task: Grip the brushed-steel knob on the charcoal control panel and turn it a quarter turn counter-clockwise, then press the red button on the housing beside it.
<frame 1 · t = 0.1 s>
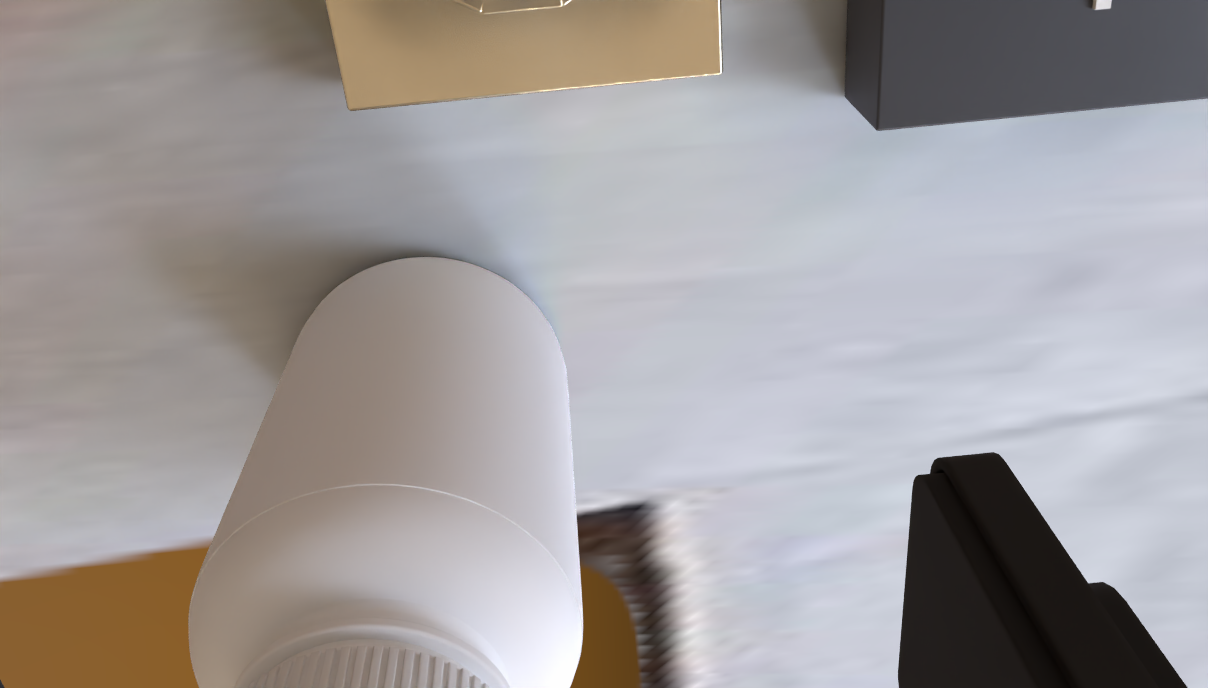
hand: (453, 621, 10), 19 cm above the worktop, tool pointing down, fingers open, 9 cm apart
pill bottle: (436, 366, 30), on the worktop
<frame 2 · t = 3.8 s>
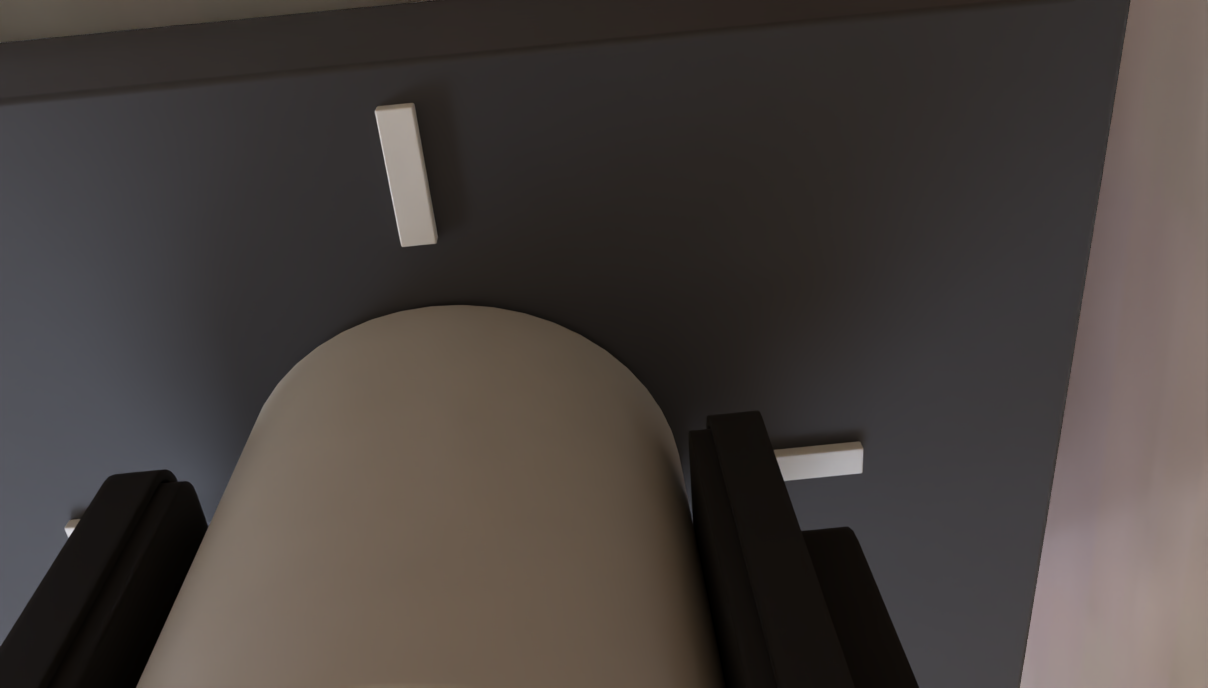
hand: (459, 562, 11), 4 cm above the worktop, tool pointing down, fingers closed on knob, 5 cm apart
panel: (481, 363, 15), on the worktop
knob: (447, 676, 9), point 6 cm above the worktop, hinge at 0.1°, touching gripper
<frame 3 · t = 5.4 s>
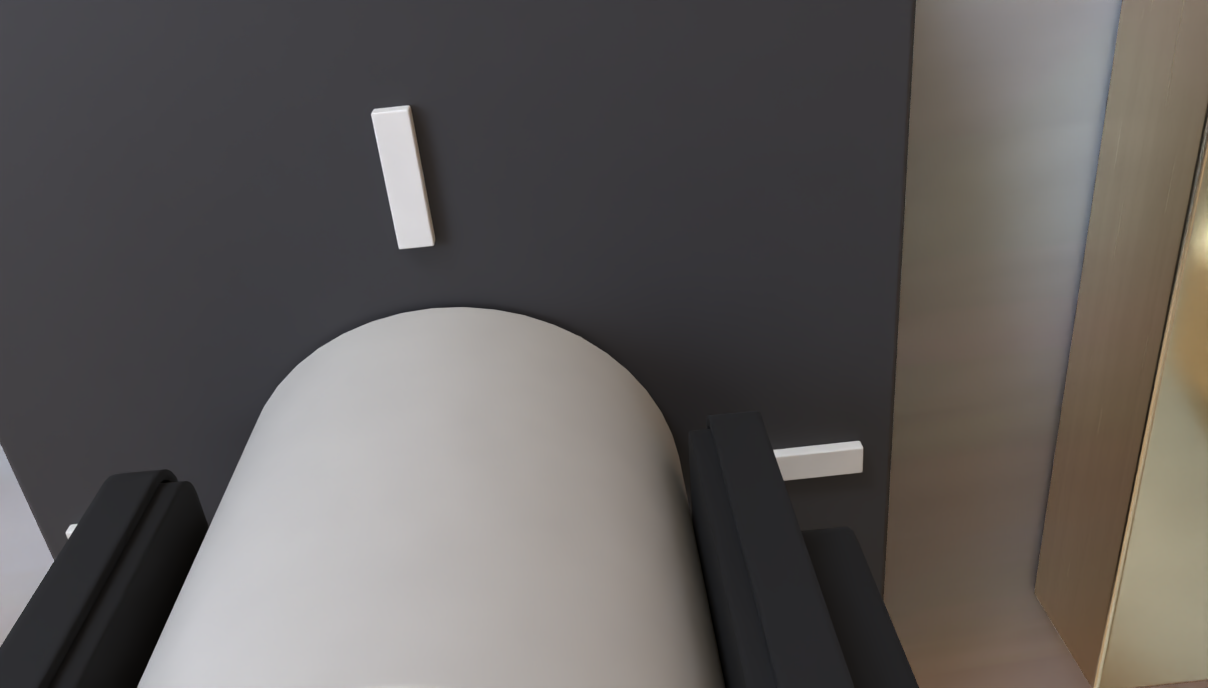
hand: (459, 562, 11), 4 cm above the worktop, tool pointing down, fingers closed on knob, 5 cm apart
panel: (481, 365, 15), on the worktop
knob: (448, 678, 9), point 6 cm above the worktop, hinge at 89.5°, touching gripper
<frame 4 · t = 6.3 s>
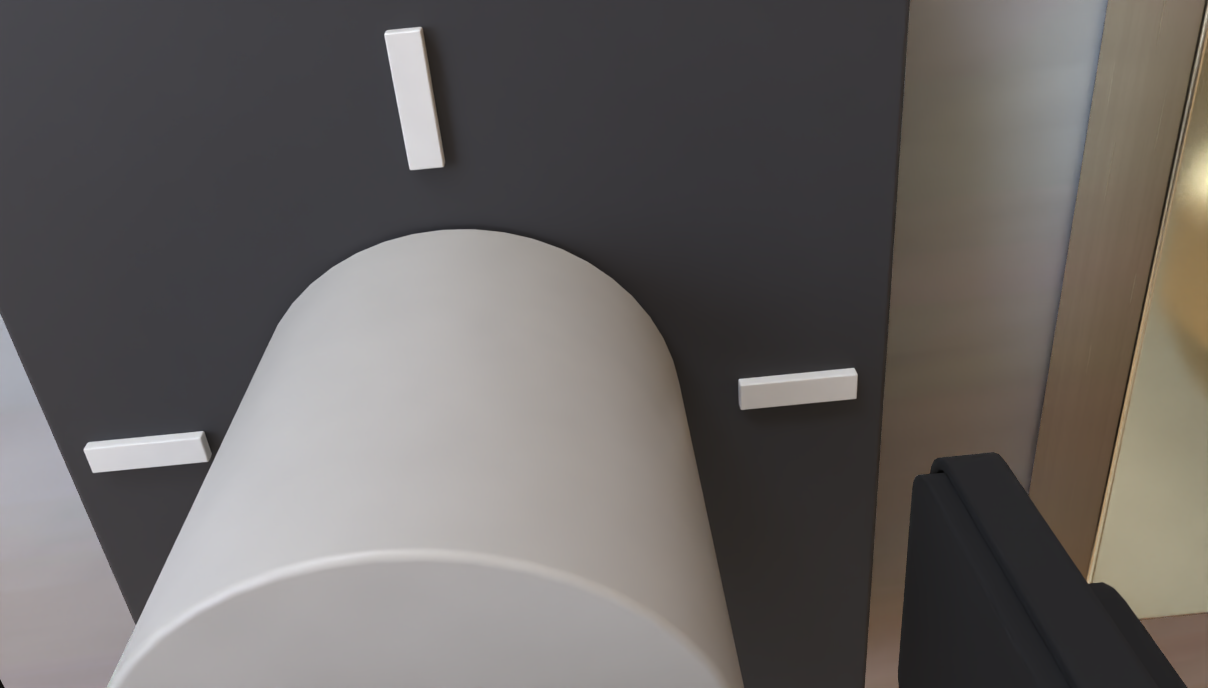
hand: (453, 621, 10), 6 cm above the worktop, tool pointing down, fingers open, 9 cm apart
panel: (486, 301, 15), on the worktop
knob: (455, 579, 10), point 6 cm above the worktop, hinge at 88.8°
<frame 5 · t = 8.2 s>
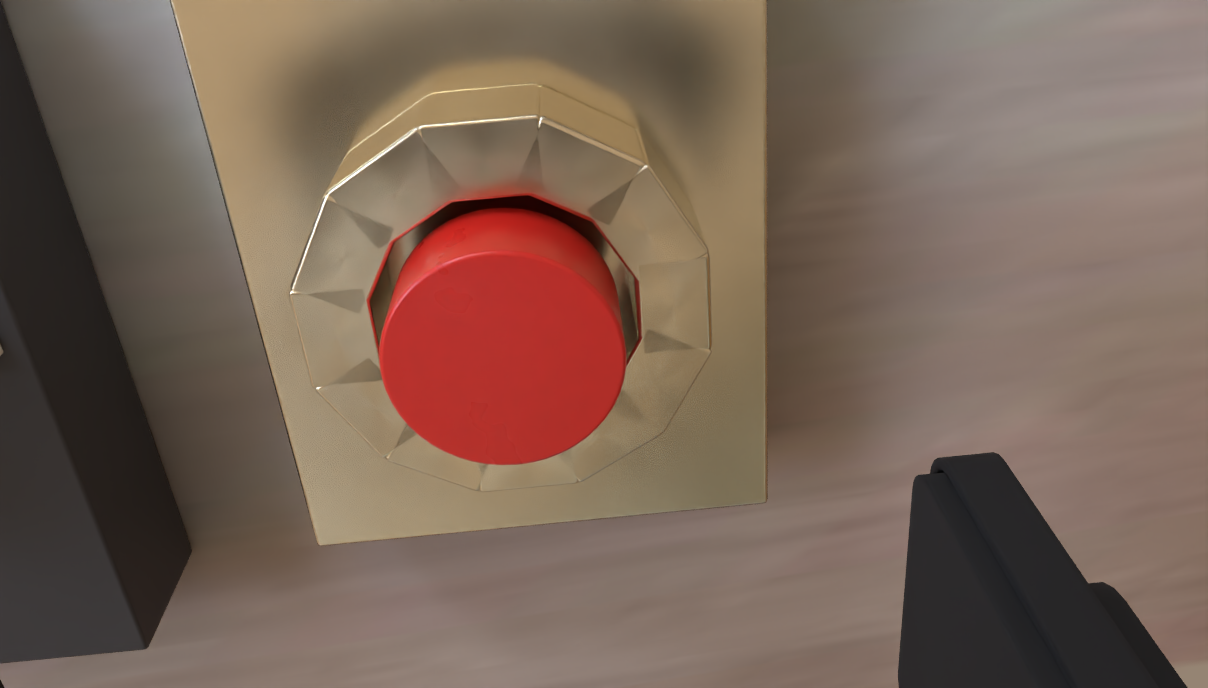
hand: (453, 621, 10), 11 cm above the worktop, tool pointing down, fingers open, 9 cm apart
button box: (512, 227, 20), on the worktop
button: (505, 337, 16), point 4 cm above the worktop, slide at 0.1 cm
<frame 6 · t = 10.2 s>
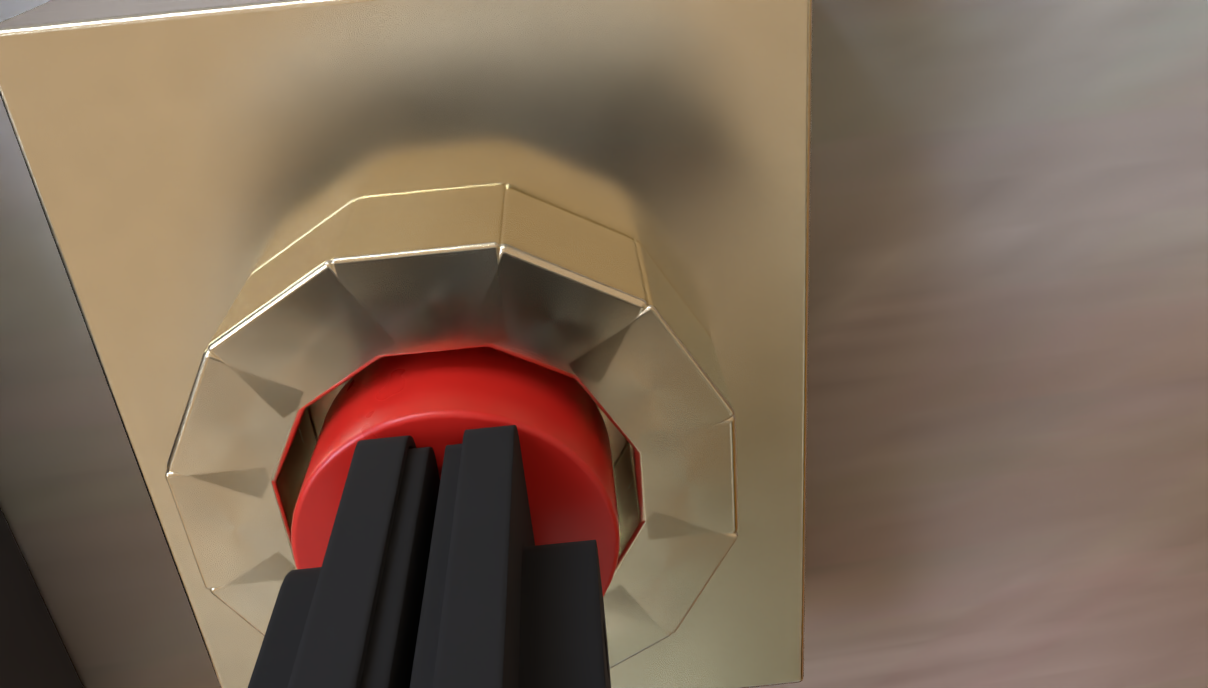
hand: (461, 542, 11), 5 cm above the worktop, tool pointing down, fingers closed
button box: (479, 343, 15), on the worktop
button: (462, 502, 12), point 4 cm above the worktop, slide at -0.5 cm, touching gripper
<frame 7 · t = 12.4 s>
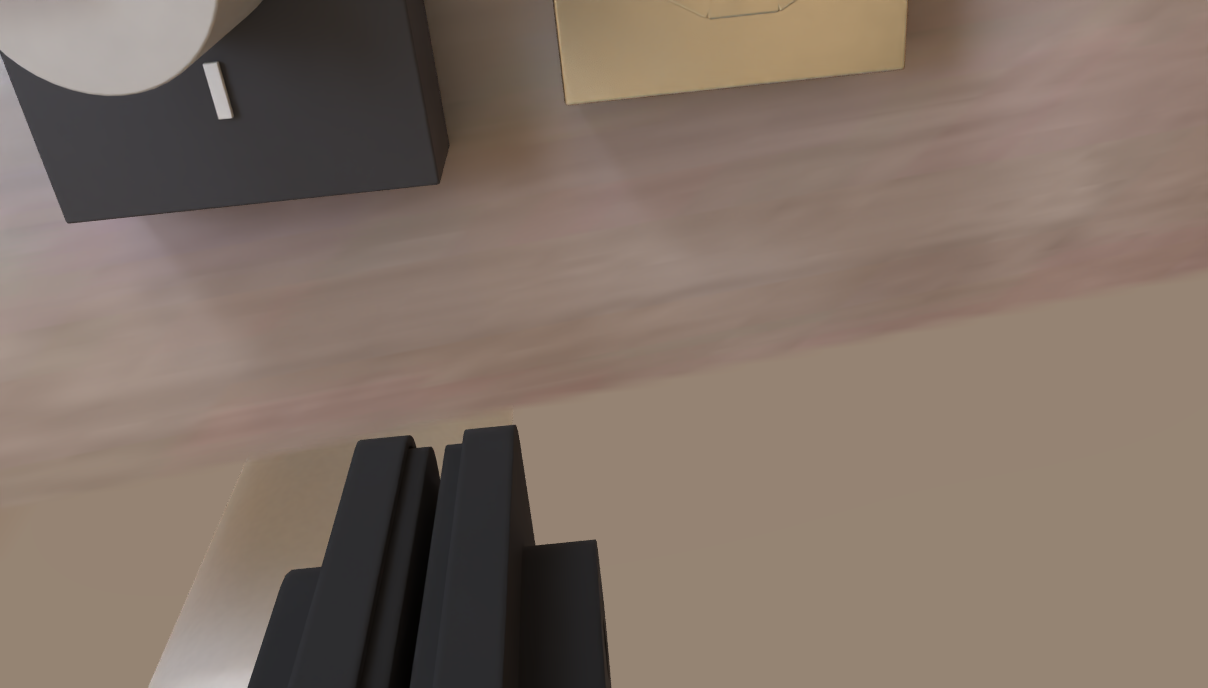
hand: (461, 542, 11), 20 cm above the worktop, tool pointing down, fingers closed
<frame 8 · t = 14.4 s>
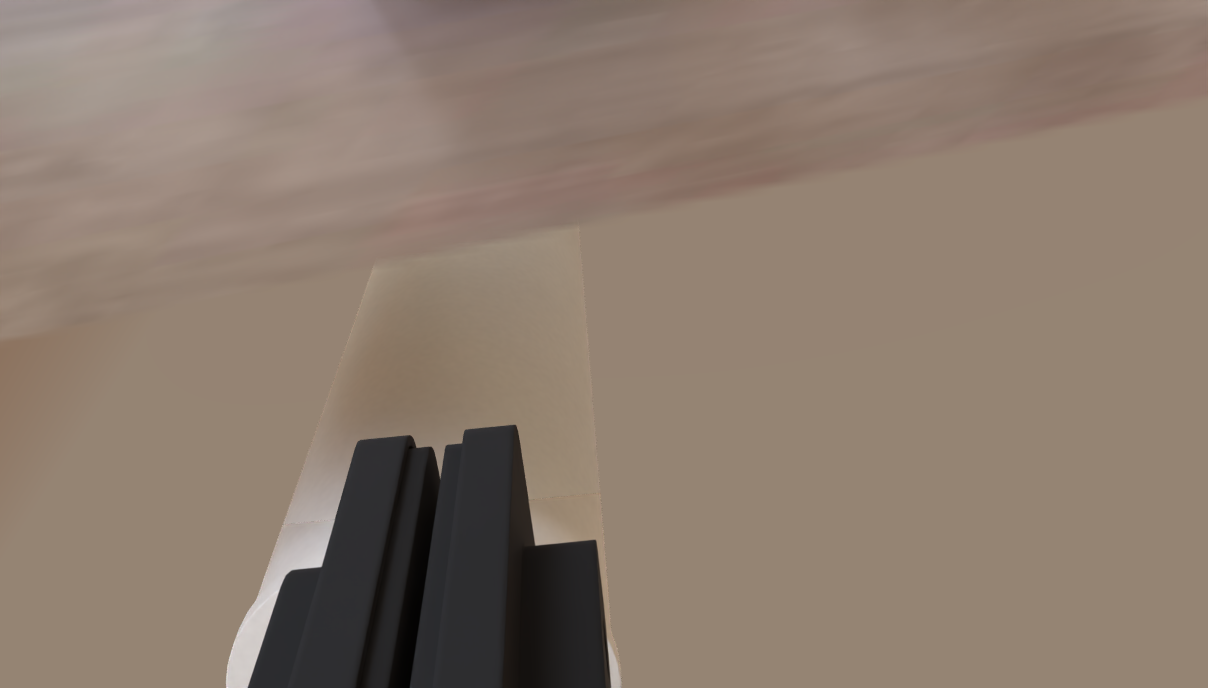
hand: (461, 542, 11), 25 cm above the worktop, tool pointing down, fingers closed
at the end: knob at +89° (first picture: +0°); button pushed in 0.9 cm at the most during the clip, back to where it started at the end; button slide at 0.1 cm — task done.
